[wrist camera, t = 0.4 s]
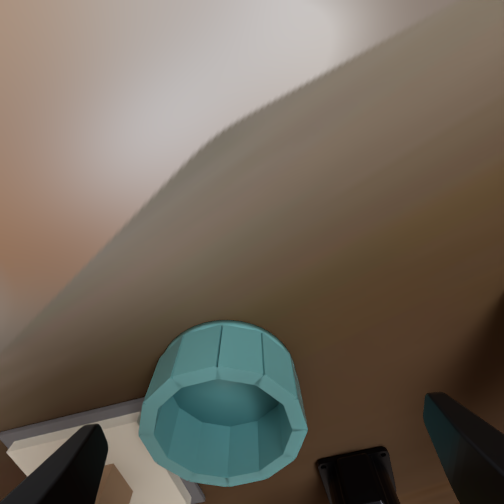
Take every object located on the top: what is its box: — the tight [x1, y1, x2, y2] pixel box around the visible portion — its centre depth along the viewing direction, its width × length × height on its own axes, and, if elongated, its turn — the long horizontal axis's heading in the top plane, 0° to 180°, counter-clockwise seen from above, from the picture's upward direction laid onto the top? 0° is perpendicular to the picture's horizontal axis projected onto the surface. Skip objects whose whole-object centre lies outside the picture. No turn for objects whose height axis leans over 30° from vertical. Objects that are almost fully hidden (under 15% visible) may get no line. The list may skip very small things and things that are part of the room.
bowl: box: [138, 320, 308, 487], centre depth 24 cm, size 11×11×5 cm
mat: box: [0, 397, 205, 504], centre depth 30 cm, size 14×14×1 cm
